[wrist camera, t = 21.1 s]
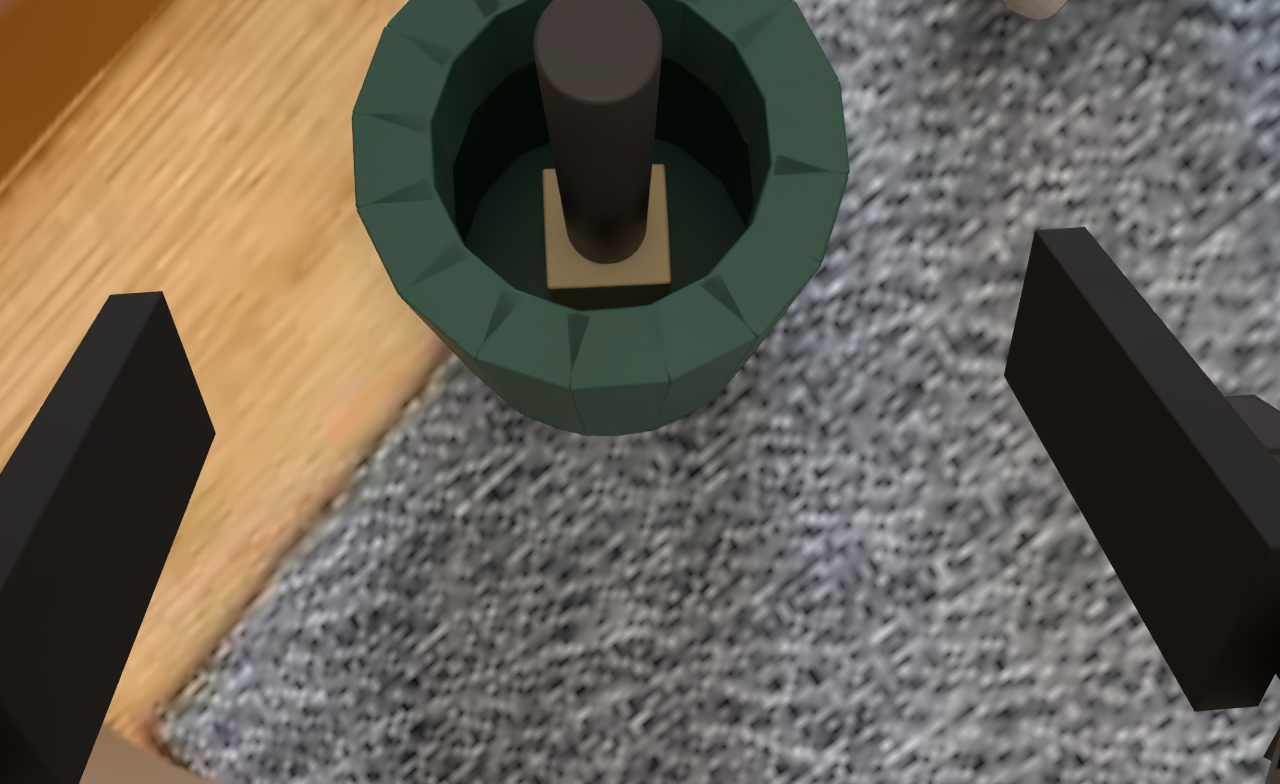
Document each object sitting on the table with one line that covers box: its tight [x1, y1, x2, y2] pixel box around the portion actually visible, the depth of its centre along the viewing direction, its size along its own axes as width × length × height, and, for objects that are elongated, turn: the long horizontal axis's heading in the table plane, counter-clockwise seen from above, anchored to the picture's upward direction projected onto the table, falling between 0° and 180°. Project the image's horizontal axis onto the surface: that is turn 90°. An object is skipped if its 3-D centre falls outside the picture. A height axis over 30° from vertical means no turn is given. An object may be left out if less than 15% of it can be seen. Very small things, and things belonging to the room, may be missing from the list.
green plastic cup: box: [352, 0, 850, 436], centre depth 29 cm, size 11×11×12 cm
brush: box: [533, 0, 672, 310], centre depth 26 cm, size 3×3×16 cm
